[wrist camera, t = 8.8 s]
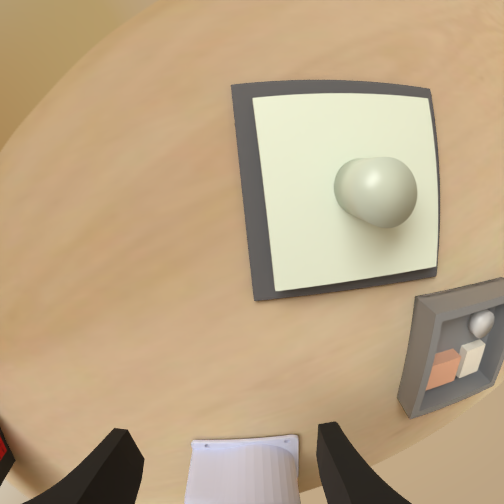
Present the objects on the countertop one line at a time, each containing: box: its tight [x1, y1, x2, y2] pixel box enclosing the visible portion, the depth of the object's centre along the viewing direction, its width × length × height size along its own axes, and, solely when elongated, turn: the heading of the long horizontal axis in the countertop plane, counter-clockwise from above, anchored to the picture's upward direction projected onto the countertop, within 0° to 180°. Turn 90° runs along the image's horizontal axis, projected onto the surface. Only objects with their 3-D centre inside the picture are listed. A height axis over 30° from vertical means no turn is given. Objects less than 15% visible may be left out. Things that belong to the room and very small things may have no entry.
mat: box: [231, 80, 440, 301], centre depth 17 cm, size 13×13×1 cm
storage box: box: [397, 277, 504, 419], centre depth 19 cm, size 10×10×3 cm
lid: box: [252, 93, 438, 291], centre depth 14 cm, size 11×11×5 cm
